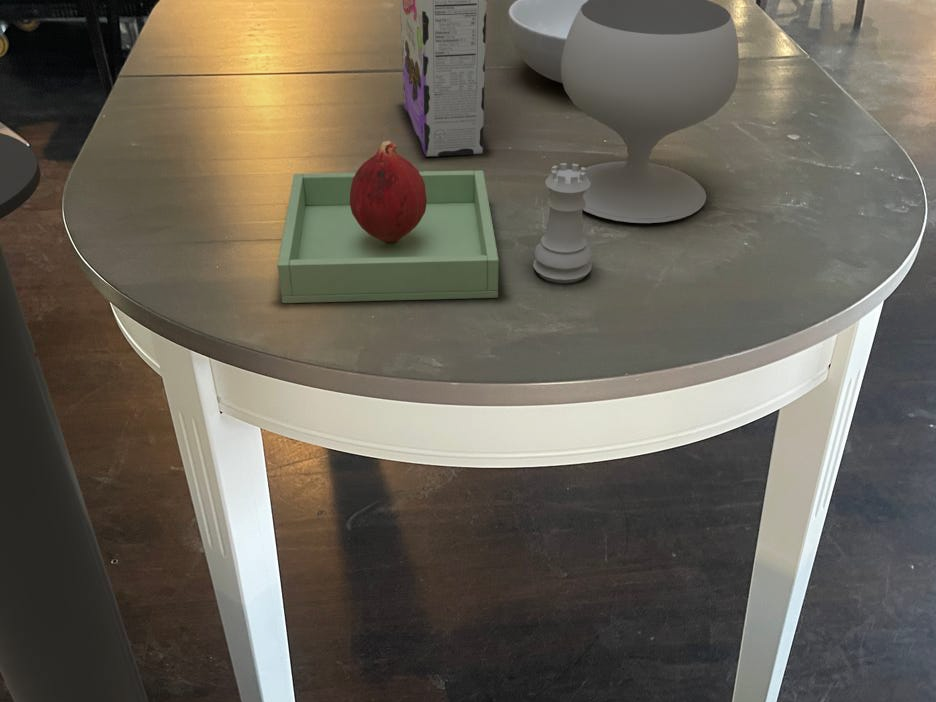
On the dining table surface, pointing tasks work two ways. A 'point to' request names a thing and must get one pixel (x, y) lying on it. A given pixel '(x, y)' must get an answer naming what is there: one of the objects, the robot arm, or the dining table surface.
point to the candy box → (445, 73)
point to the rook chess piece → (564, 228)
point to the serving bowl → (542, 32)
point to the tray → (388, 265)
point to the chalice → (648, 94)
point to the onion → (388, 195)
